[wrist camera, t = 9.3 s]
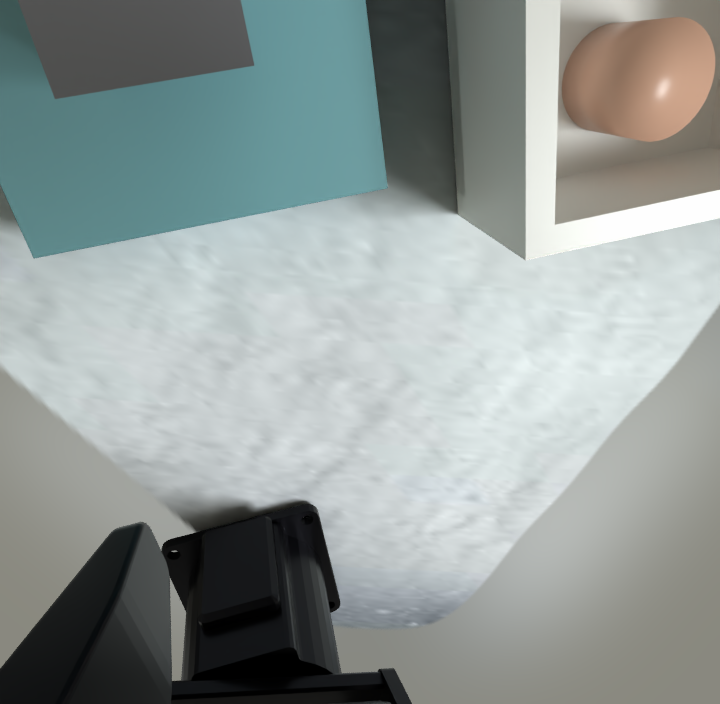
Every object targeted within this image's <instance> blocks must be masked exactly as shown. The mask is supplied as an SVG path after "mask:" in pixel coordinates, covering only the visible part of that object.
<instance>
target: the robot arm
mask: <svg viewBox="0 0 720 704" xmlns="http://www.w3.org/2000/svg"><path fill="white" fill-rule="evenodd" d="M308 515H310V517H308V518H303V517H304V516H308ZM174 550H176V551H178V552H171V551H174ZM169 576H170V577H169ZM169 578H171V580H172V582H173V584H174V587H175V589H176V591H177V593H178V595H179V597H180V600H181V601H182V604H183V606H184V608H185V610H186V625H185V638H184V651H183V664H182V677H181V681H172V662H171V661H172V660H171V619H170V618H171V616H170V579H169ZM339 606H340V599H339V594H338V590H337V586H336V582H335V578H334V574H333V570H332V566H331V562H330V558H329V554H328V550H327V546H326V542H325V538H324V533H323V529H322V525H321V521H320V517H319V513H318V510H317V508H316V507H315V506H313V505H310V504H305V505H301V506H297V507H293V508H289V509H285V510H281V511H277V512H274V513H270V514H266V515H262V516H258V517H254V518H250V519H247V520H243V521H239V522H235V523H231V524H227V525H223V526H220V527H216V528H212V529H208V530H204V531H200V532H196V533H193V534H189V535H185V536H181V537H177V538H173V539H170V540H168V541H166V542H165V543H164V544H163V546H162V551H161V550H160V547H159V545H158V543H157V541H156V539H155V537H154V535H153V533H152V530H151V529H150V527H149V526H148V525H147V524H146V523H144V522H139V523H135V524H131V525H127V526H123V527H119V528H117V529H115V530H113V532H111V533H110V534H109V536H108V537H107V538H106V539H105V541H104V542H103V543H102V544H101V545H100V547H99V548H98V549H97V550H96V552H95V553H94V554H93V555H92V556H91V558H90V559H89V560H88V561H87V563H86V564H85V565H84V566H83V568H82V569H81V570H80V571H79V573H78V574H77V575H76V576H75V577H74V579H73V580H72V581H71V582H70V584H69V585H68V586H67V587H66V589H65V590H64V591H63V592H62V593H61V595H60V596H59V597H58V598H57V599H56V601H55V602H54V603H53V604H52V606H51V607H50V608H49V609H48V611H47V612H46V613H45V614H44V615H43V617H42V618H41V619H40V620H39V622H38V623H37V624H36V625H35V627H34V628H33V629H32V630H31V631H30V633H29V634H28V635H27V637H26V638H25V639H24V640H23V641H22V643H21V644H20V645H19V646H18V647H17V649H16V650H15V651H14V652H13V654H12V655H11V656H10V657H9V659H8V660H7V661H6V662H5V664H4V665H3V666H2V667H1V668H0V704H412V703H411V701H410V699H409V697H408V695H407V693H406V691H405V689H404V687H403V685H402V683H401V681H400V679H399V677H398V675H397V673H396V671H395V669H394V668H389V669H379V670H378V672H362V673H341V668H340V663H339V657H338V652H337V647H336V641H335V636H334V630H333V625H332V619H331V614H330V613H331V612H333V611H336V610H337V609H338V608H339Z"/></svg>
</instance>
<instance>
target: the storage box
mask: <svg viewBox="0 0 720 704" xmlns="http://www.w3.org/2000/svg"><path fill="white" fill-rule="evenodd" d="M445 3H446V20H447V37H448V54H449V71H450V88H451V105H452V122H453V139H454V156H455V173H456V189H457V206H458V215H459V216H460V217H462V218H463V219H465V220H466V221H468V222H469V223H471V224H472V225H474V226H475V227H477V228H478V229H480V230H481V231H483V232H484V233H486V234H487V235H489V236H490V237H492V238H493V239H495V240H496V241H498V242H499V243H500V244H502V245H503V246H505V247H506V248H508V249H509V250H511V251H512V252H514V253H515V254H517V255H518V256H520V257H521V258H523V259H524V260H530V259H535V258H539V257H544V256H548V255H553V254H557V253H562V252H567V251H571V250H576V249H580V248H585V247H589V246H594V245H599V244H603V243H608V242H612V241H617V240H621V239H626V238H630V237H635V236H640V235H644V234H649V233H653V232H658V231H662V230H667V229H672V228H676V227H681V226H685V225H690V224H694V223H699V222H703V221H708V220H713V219H717V218H720V0H445Z"/></svg>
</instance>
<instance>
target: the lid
mask: <svg viewBox="0 0 720 704" xmlns="http://www.w3.org/2000/svg"><path fill="white" fill-rule="evenodd" d="M0 185H1V187H2V189H3V192H4V194H5V196H6V198H7V200H8V203H9V205H10V207H11V209H12V211H13V214H14V216H15V218H16V220H17V223H18V225H19V227H20V229H21V231H22V234H23V236H24V238H25V240H26V242H27V245H28V247H29V249H30V251H31V253H32V256H33V258H39V257H44V256H49V255H54V254H59V253H64V252H69V251H74V250H79V249H84V248H89V247H94V246H99V245H104V244H109V243H114V242H119V241H124V240H129V239H134V238H139V237H144V236H150V235H155V234H160V233H165V232H170V231H175V230H180V229H185V228H190V227H195V226H200V225H205V224H210V223H215V222H220V221H225V220H230V219H235V218H240V217H245V216H250V215H255V214H260V213H265V212H271V211H276V210H281V209H286V208H291V207H296V206H301V205H306V204H311V203H316V202H321V201H326V200H331V199H336V198H341V197H346V196H351V195H356V194H361V193H366V192H371V191H376V190H381V189H386V188H388V186H387V177H386V169H385V160H384V152H383V143H382V135H381V127H380V118H379V110H378V101H377V93H376V84H375V76H374V68H373V59H372V51H371V42H370V34H369V25H368V17H367V9H366V0H0Z"/></svg>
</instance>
